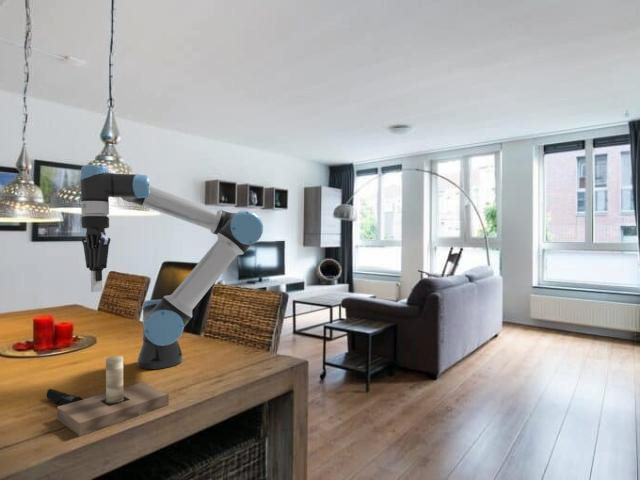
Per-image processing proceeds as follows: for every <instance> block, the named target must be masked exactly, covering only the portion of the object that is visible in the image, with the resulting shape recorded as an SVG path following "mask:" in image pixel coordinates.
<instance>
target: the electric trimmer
mask: <svg viewBox="0 0 640 480" xmlns="http://www.w3.org/2000/svg"><path fill="white" fill-rule="evenodd" d="M46 399H48V400H49V401H51V402H52V403H54V404H56V405H66V404H69V403H73V402H76V401H79V400H83V399H84V398H82V397H81V396H76V395H72V394H70V393H69V394H68V393H66V392H62V391H59V390H55V389H54V388H49V389H48V390H47V392H46Z"/></svg>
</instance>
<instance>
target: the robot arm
mask: <svg viewBox="0 0 640 480" xmlns="http://www.w3.org/2000/svg"><path fill="white" fill-rule="evenodd" d="M79 180H80V199H81V201H80V202H81V203H80V208H81V215H83V216H82V217H81V221H80V223H81V228H83V229H86V231H85V237H82V238H81V243H82V245H83V252H84V259H85V265H86V266H85V267H86V268H87V269H88V270H89V271H90V292H91V293H97V292H103V270H104V269H107V267H108V266H107V265H108V259H109V258H108V257H109V256H108V255H109V248H110V243H111V238H110V237H107V236H106V235H107V233H106V229H109V227H110V218H109V215H110V202H109V198H121V199H122V200H123V201H126V202H129V203H133V204H136V205H139V206H143V207H145V208H148V209H151V210H153V211H156V212H160V213H163V214H165V215H168V216H171V217H173V218H176V219H179V220H182V221H185V222H187V223H189V224H190V223H191V224H192V225H193V224H194V225H196V226H199V227H201V228H204V229H207V230H209V231H210V233H211V234H213V235H216V236H217V240H216V242H214V244H213V245H212V247H211V248H210V249H209V250H208V251H207V252H206V253H205V254H204V255H203V257H202V258H201V259H200V260H199V262H198V263H196V265H195V267H194V268H193V269H192V270H191V271H190V272H189V274H188V275H186V277H184V279H183V280H182V282H181V283H180V284H179V286H177V288H176V289H175V290H174V291H173V292H172V293H171V294H170V295H164V296H163V297H162V298H161V299H149V300H145V301H144V302H143V303H142V307H141V308H142V345H141V348H140V351H139V353H138V357H137V366H138V367H139V368H142V369H145V370H159V369H166V368H170V367H171V368H172V367H174V366H177V365H179V364H181V363H182V362H183V352H182V348H181V346H180V344H179V341H178V340H179V339H180V337H181V336H182V334H183V331H184V329H185V326H187V324H188V323H189V322H190V320H191V319H192V318H193V309H195V307H196V306H197V305H198V303H199V302H200V301H201V300H202V299H203V297H204V296H205V295H206V294H207V293H208V291H209V290H210V289H211V287H213V285H214V284H215V283H216V282H217V280H218V279H219V278H220V277H221V276H222V274H223V273H224V272H225V270H226V269H227V268H228V267H229V266H230V264H231V263H232V262H233V261H234V260H235V258H236V257H237V256H240V255H241V256H242V255H244V254H245V253H246V252H247V250H248V249H250V247H251V246H252V245H253V244H255V243H257V242H258V241H259V240H260V239H261V237H262V235H263V232H264V225H263V222H262V220H261V218H260V217H259V215H257V214H256V213H254V212H252V211H248V210H241V211H238V212H229V211H226V210H222V209H219V210H216V209H213V208H209V207H207V206H204V205H201V204H199V203H197V202H193V201H191V200H188V199H185V198H184V197H180V196H177V195H175V194H172V193H169V192H166V191H164V190H161V189H158V188H156V187H153V186H151V185H150V177H149V176H148V175H146V174H139V173H136V174H135V173H112V172H109V168H108V167H107V166H104V165H98V164H85V165H83V166H81V168H80V179H79Z"/></svg>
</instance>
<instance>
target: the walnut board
mask: <svg viewBox="0 0 640 480" xmlns="http://www.w3.org/2000/svg"><path fill="white" fill-rule="evenodd" d="M123 397H124V401H123V402H121V403H118V404H115V405H112V406H107V405H106V392H104V393H99V394H97V395H93V396H90V397H87V398H82V399H83V400H79V401H76V402H73V403H69V404H66V405H63V404H61V405H59V406H57V407H56V419H57V421H59V422H60V423H62V424H63V425H64V426H65V427H67V428H68V429H69V430H70V431H72V432H73V433H74V434H76V435H77V436H78V437H82V436H85V435H88V434H90V433H91V434H92V433H94V432H96V431H99V430H102V429H105V428H107V427H110V426H113V425H116V424H119V423H121V422H124V421H127V420H130V419H132V418H133V419H134V418H136V417H139V416H141V415H144V414H147V413H150V412H153V411H155V410H156V411H157V410H158V409H162V408H164V407H167V406H169V405H170V404H169V398H170V397H169V393H167V392H165V391H163V390H161V389H159V388H157V387H154V386H152V385H150V384H147V383H145V382H139V383H138V382H137V383H135V384H132V385H128V386H125V387H124V386H123Z"/></svg>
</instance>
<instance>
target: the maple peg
mask: <svg viewBox="0 0 640 480" xmlns="http://www.w3.org/2000/svg"><path fill="white" fill-rule="evenodd" d="M123 388H124V356H122V355H114V356H109V357H107V358H106V359H105V393H106V405H107V406H112V405H115V404H118V403H121V402H123V401H124V397H123Z"/></svg>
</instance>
